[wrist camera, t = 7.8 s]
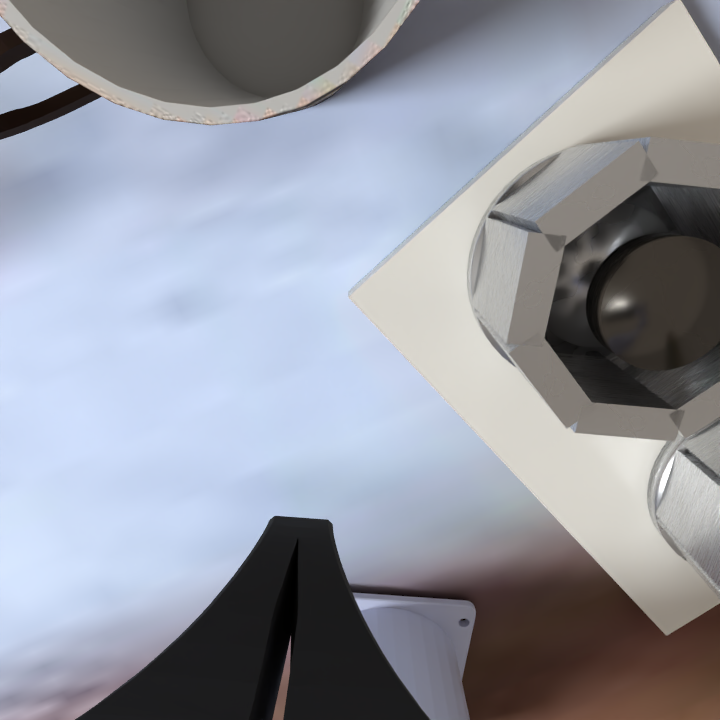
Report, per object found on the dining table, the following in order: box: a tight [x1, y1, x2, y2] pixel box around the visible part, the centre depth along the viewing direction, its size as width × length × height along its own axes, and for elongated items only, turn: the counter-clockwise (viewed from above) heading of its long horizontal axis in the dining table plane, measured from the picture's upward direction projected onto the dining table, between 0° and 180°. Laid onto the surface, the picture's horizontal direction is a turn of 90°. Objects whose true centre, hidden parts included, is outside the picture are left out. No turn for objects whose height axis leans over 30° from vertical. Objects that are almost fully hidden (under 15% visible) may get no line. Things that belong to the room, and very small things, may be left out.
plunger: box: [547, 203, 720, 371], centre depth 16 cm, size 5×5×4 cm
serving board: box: [348, 0, 720, 636], centre depth 21 cm, size 22×14×1 cm, turn 42°
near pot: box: [467, 137, 720, 441], centre depth 17 cm, size 8×11×5 cm
